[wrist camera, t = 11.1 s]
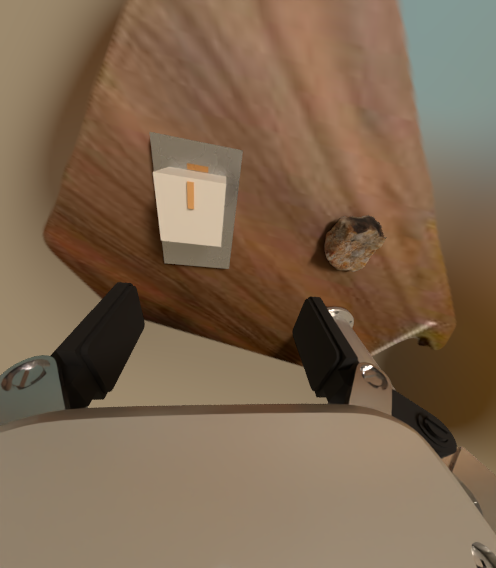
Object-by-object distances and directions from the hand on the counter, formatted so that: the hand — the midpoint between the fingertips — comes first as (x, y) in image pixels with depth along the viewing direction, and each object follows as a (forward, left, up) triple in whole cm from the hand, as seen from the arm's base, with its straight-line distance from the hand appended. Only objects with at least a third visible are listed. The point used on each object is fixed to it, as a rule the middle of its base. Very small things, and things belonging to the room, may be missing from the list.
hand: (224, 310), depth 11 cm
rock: (-2, -21, -20) cm, 29 cm away
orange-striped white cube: (+1, +4, -18) cm, 19 cm away
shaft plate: (0, +4, -20) cm, 20 cm away
